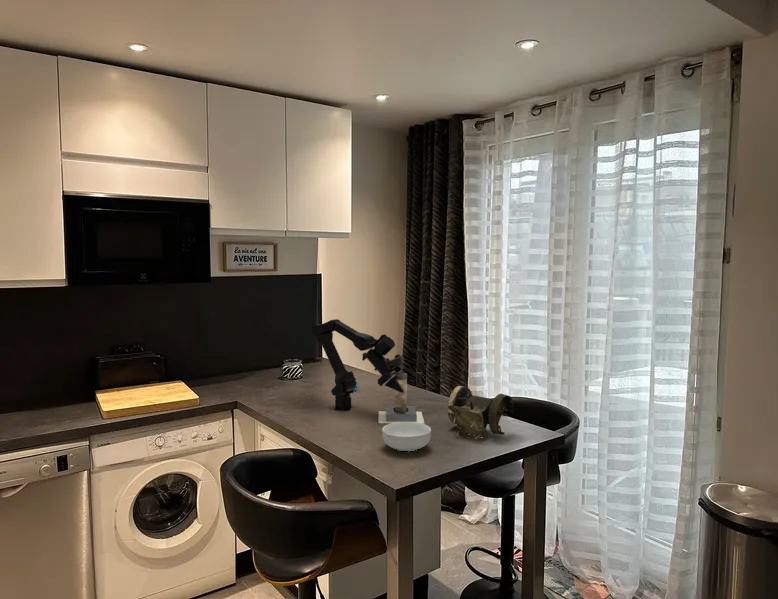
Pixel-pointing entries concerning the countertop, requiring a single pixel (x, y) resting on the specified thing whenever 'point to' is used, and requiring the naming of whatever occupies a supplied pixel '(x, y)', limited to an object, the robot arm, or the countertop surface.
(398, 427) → the cereal bowl
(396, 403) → the beige tall cylinder
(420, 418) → the board
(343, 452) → the countertop surface
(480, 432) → the bench grinder
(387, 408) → the housing
